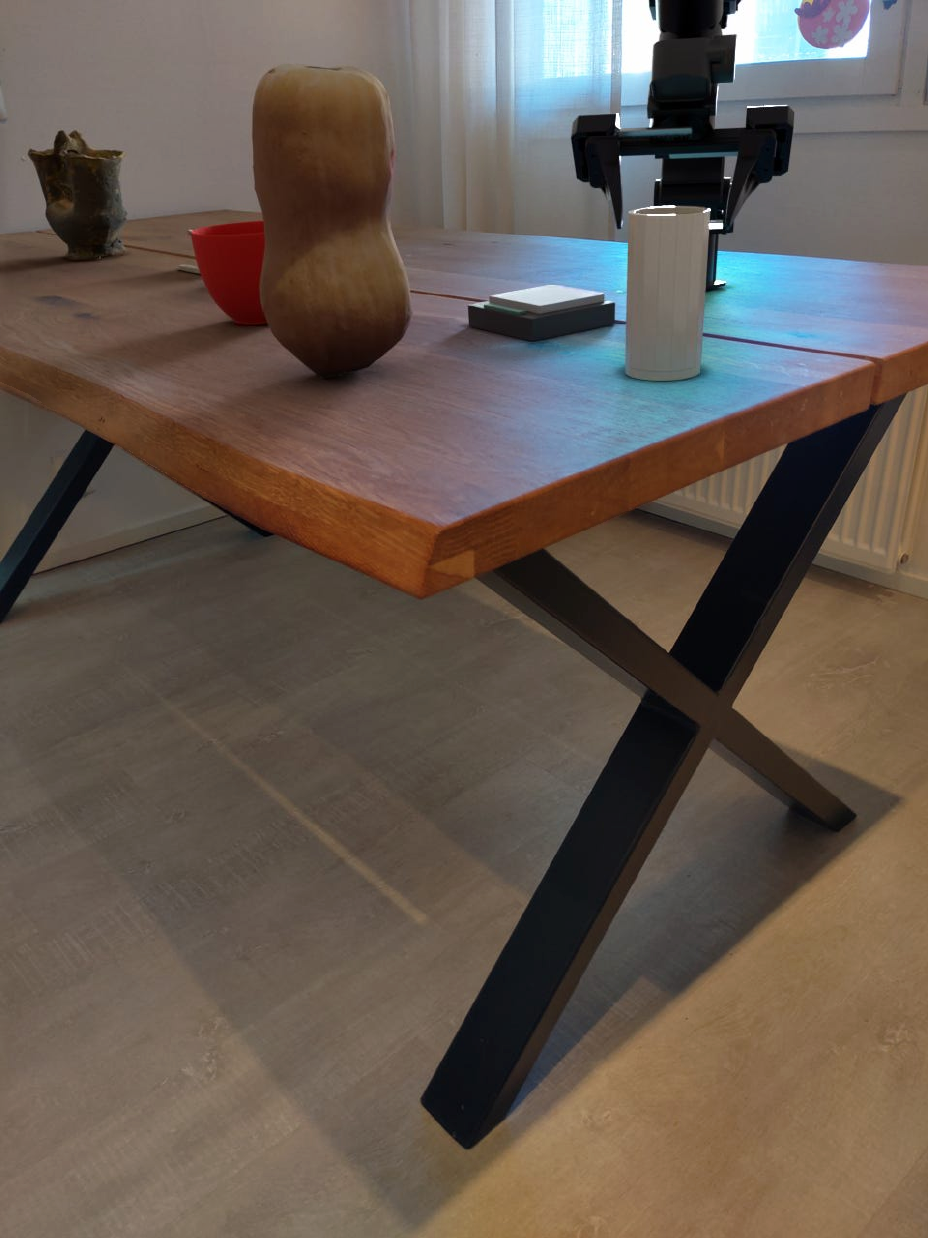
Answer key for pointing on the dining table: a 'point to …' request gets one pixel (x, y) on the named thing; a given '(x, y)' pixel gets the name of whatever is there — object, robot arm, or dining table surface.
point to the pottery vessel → (82, 195)
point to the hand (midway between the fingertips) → (672, 224)
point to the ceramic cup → (233, 267)
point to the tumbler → (666, 291)
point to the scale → (542, 312)
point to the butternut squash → (328, 216)
